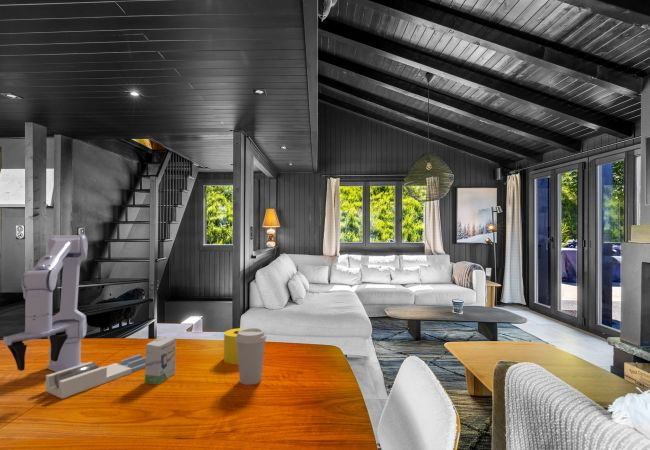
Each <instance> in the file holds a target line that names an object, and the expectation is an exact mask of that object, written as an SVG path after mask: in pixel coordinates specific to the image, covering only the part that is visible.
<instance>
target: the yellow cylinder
mask: <svg viewBox="0 0 650 450" xmlns="http://www.w3.org/2000/svg"><path fill="white" fill-rule="evenodd" d="M243 329H246V328H245V327H244V328H242V327H241V328H240V327H239V328H238V327H237V328H231V329H229V330H225V331H224V332H223V333H224V334H223V338H224V339H223V360H224V362H225V363H227V364H233V365H239V364H238V351H237V341H235V338H236V335H237V334H238V331H240V330H243Z"/></svg>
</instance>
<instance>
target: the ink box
mask: <svg viewBox="0 0 650 450" xmlns="http://www.w3.org/2000/svg"><path fill="white" fill-rule="evenodd" d="M176 346H177V338H176V337H169V336H161V337H158V338H157V339H154V340H152V341H150V342H148V343H146V345H145V357H146V360H145V369H144V384H151V385H152V384H153V385H157V386H158V385H160V384H161V383H163V382H164V381H166V380H168V379H169V378H170V377H172V376H173V375H175V374H176V359H177V351H176V349H177V347H176Z"/></svg>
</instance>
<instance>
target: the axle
mask: <svg viewBox="0 0 650 450" xmlns="http://www.w3.org/2000/svg"><path fill="white" fill-rule="evenodd" d="M97 368H99V366H98V364H97V362H92V363H90V364H87V365H84V366H81V367H77V368H74V369H71V370H68V371H65V372H61V373H58V374H56V375H55V378H54V382H55V385H56V387H57V388H59V381H60V380H63V379H66V378H69V377H72V376H75V375H79V374H82V373H85V372H88V371H91V370H94V369H97Z"/></svg>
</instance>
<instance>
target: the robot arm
mask: <svg viewBox="0 0 650 450" xmlns="http://www.w3.org/2000/svg"><path fill="white" fill-rule="evenodd" d="M47 242H48V243H47V248H48V253H47V254H45V255H43V256H42V257H40V259H39V261H37V263H36V264H35V266H34V268H32V269H31V270H28V271H27V272H25V273H23V274H22V277H21V288H22V292H23V293H22V294H23V299H24V300H25V317H24V319H25V325H24V331H23V332H18V333H15V334H11V335H8V336H3V338H2V339H3V342H2V343H3V345H4V346H7V349H8V350H9V351H10V352H11V355H12V356H13V359H14V361H15V364H16V367H17V370H18V371H20V372H22V371H25V367H26V363H25V359H26V358H25V357H26V352H27V351H26V350H27V347H28V345H27V344H25V343H24V342H28V341H32V340H36V339H41V338H46V337H47V339H48V340H49V341H50V346H49V349H48V351H49V352H48V353H49V356H48V360H49V361H48V362H49V363H48V365H47V366H45V369H48V370H50V371H53V372H54V373H55V372H59V371H62V370H65V369H68V368H72V367H75V366H78V365H81V364H85V363H86V362H81V360H82V359H81V356H82V355H81V348H82V346H81V345H82V339H84V338H85V337H86V334H87V330H88V323H87V316H86V314H85V313H83V312H81V311H79V309H78V303H79V302H78V301H79V299H78V298H79V285H80V284H79V283H80V268H81V265H82V264H81V263H82V262H83V261H85V260H87V256H88V250H89V249H88V246H89V242H88V237H87V236H86V235H85V234H81V235H79V234H78V235H75V234H71V235H69V234H67V235H63V234H62V235H61V234H60V235H59V234H58V235H57V234H52V235H51V236H49V239H48V241H47ZM61 270H62V277H61V278H62V280H61V288H60V289H61V292H60V302H59V304H60V305H59V311H58V312H57V313H56V314H55V315H53V292H54V290H55V289H56V285H57V281H58V274H59V273H60V271H61Z"/></svg>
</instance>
